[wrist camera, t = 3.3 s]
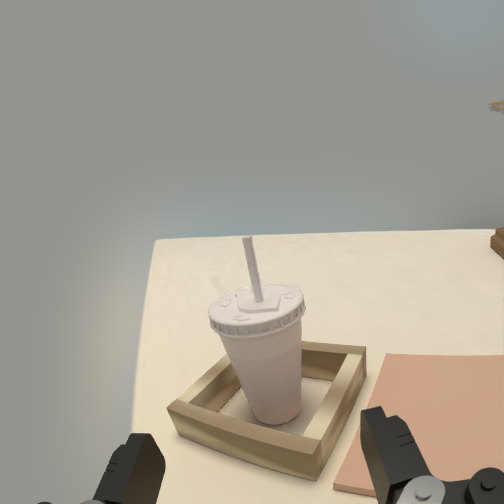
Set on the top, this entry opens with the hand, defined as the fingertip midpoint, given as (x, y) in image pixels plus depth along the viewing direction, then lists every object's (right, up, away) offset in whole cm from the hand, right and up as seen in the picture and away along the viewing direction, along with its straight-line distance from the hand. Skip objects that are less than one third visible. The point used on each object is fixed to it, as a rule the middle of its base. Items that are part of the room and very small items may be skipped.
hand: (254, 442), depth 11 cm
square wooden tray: (+2, -5, +13) cm, 14 cm away
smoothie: (+2, -5, +13) cm, 14 cm away
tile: (+14, -5, +6) cm, 16 cm away
